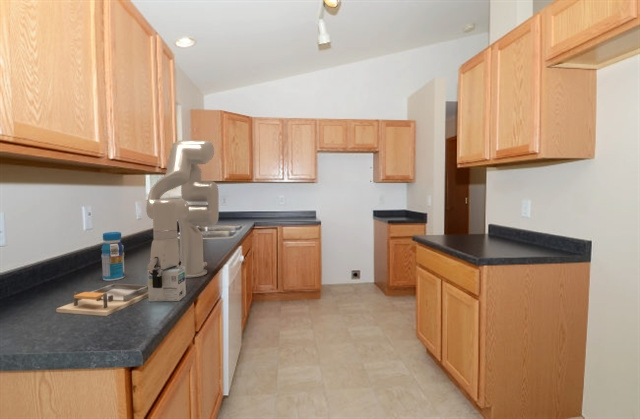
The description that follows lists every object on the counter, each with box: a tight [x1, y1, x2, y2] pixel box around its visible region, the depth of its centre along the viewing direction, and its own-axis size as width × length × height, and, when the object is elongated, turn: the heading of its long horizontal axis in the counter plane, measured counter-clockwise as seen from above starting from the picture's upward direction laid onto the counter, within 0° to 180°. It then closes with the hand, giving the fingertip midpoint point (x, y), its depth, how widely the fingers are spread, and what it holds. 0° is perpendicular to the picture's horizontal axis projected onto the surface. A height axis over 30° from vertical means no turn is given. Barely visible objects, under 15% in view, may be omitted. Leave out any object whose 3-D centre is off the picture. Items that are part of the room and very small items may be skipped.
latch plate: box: [73, 291, 104, 300], centre depth 105 cm, size 4×8×1 cm, turn 80°
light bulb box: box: [146, 266, 187, 302], centre depth 116 cm, size 11×7×11 cm, turn 92°
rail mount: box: [56, 283, 148, 317], centre depth 112 cm, size 22×18×6 cm
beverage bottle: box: [100, 231, 126, 282], centre depth 143 cm, size 8×8×20 cm
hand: (166, 284), depth 115 cm, fingers open, 9 cm apart
